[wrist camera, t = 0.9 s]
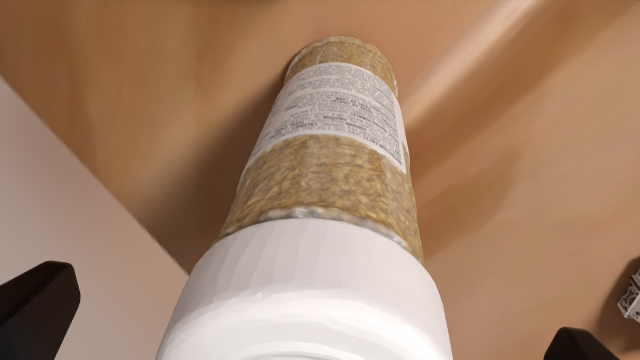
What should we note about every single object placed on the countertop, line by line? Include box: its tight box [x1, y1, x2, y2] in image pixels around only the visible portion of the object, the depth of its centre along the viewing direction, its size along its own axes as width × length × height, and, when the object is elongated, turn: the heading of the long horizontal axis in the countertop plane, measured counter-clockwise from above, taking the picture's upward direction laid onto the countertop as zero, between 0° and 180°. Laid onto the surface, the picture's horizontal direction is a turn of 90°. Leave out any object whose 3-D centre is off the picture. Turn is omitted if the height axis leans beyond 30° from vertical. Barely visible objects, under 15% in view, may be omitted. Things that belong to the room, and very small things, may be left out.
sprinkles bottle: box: [156, 35, 453, 360], centre depth 12 cm, size 5×5×13 cm
